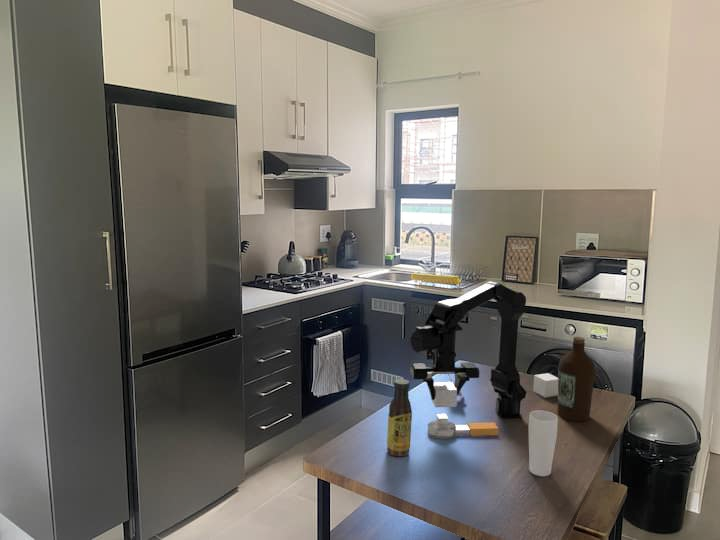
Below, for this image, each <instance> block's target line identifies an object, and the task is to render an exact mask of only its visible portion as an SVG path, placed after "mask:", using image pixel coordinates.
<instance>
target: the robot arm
mask: <svg viewBox="0 0 720 540" xmlns="http://www.w3.org/2000/svg"><path fill="white" fill-rule="evenodd" d="M491 300H494V301H496V310H497V312H498V314H499V316H500V319H501V320H500V321H501V323H500V333H499V334H500V338H499V353H498V364H497V365H496V366H495V368H491V370H490V380H489V381H490V382H491V386H492V388H493V391H494V393H496V394H497V398H496V400H495V408H494V409H495V412H497V414H498V416H499V417H500V418H502V419H515V418H517V419H519V418H520V419H521V418H523V416H522V414H521V401H523V399H525V398H526V397H527V392H528V391H527V390H526V389H525V387H523V386H522V385H521V375H520V372H519V370H518V369H517V365H516V359H517V348H518V347H517V346H518V345H517V343H518V331H519V330H518V329H519V319H520V318H521V317H522V316H523V314H524V313H525V309H526V304H527V297H526V295H525V294H524V293H523V292H520V291H517V290H513V289H512V288H508V287H507V286H505V285H504V284H502V283H500V282H497V281H496V282H495V281H487V282H485V283H484V284H483V285H480V286H479V287H477V288H475V289H473V290H471V291H469V292H466V293H465V294H463V295H461V296H459V297H455V298H449V299H443V300H441V301H437V302H436V303H435V304H434V305H433V309H432V310H431V312H430V313H429V316H428V317H427V319H426V321H425V323H424V326H416V327H415V331H414V332H412V334H411V336H410V337H409V338H410V339H409V340H410V346H411V348H412V350H413V351H414V353H424V360H425V361H430V362H431V365H432V366H426V364H425V363H422V362H420V363H419V362H418V363H412V364H411V365H410V370H409V372H410V376H412V379H413V380H421V381H422V382H424V383H426V386H427V389H428V391H429V395H430V399H431V398H432V400H434V382H435V379H434V378H433V377H432V376H433V375H446V374H447V375H448V374H449V375H452V374H454V383H453V385H454V386H455V388H456V389H457V397H459V396H458V394H459V392H461V390H462V388H463V387H464V386H465V384H466V383H467V382H468V381H471V379H479V378H480V368H479V367H478V366H477V365H476V364H475V363H474V362H471V361H470V362H461V363H460V366H456V357H457V352H456V349H457V332H458V331H463V327H462V326H461V325H460V324H459V323H460V322H461V321H462V320H464V318H465V316H466V315H467V313H469V312H471V311H472V310H474V309H476V308H479V306H481V305H483V304H485V303H488V302H489V301H491ZM432 400H431V401H432Z"/></svg>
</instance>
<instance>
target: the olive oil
mask: <svg viewBox="0 0 720 540" xmlns="http://www.w3.org/2000/svg"><path fill="white" fill-rule="evenodd" d="M585 340H586V339H585V338H584V337H581V336H574V337H573V342H572V348H571V350H570V351H569V352H567V353H566V354H565V355H563V357H562V358H560V361H559V363H558V368H557V371H558V372H557V373H558V374H557V378H558V396H557V408H556V409H557V410H556V412H557V415H558V416H559V417H561V418H562V419H565V420H568V421H571V422H586V421H588V420H589V419H590V417H591V416H590V415H591V407H592V400H593V399H592V397H593V391H594V385H595V384H594V383H595V378H596V365H595V363H594V361H593V360H592V358H591V357H590V355H588V354H587V353H586V351H585V347H586V346H585Z"/></svg>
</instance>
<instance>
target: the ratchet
mask: <svg viewBox="0 0 720 540" xmlns="http://www.w3.org/2000/svg"><path fill="white" fill-rule="evenodd" d="M428 434H429V435H430V436H431V438H432V437H433V438H432V439H434V438H435V439H434V440H437V439H439V441H450V440H453V439H454V438H456V437H458V436H457V435H471V436H470V437H478V436H479V437H481V436H482V435H483V436H482V437H484V436H485V435H490V436H499V427H498V426H497V425H496V423H495V422H467V423H466V424H455V423H454V422H451V421H449V418H448V416H447V414H446V413H439V414H438V413H437V414H436V419H435V420H431V421H429V422H428V424H427V435H428ZM429 435H428V436H429ZM430 436H429V437H430ZM452 438H453V439H452ZM449 439H450V440H449Z"/></svg>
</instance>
